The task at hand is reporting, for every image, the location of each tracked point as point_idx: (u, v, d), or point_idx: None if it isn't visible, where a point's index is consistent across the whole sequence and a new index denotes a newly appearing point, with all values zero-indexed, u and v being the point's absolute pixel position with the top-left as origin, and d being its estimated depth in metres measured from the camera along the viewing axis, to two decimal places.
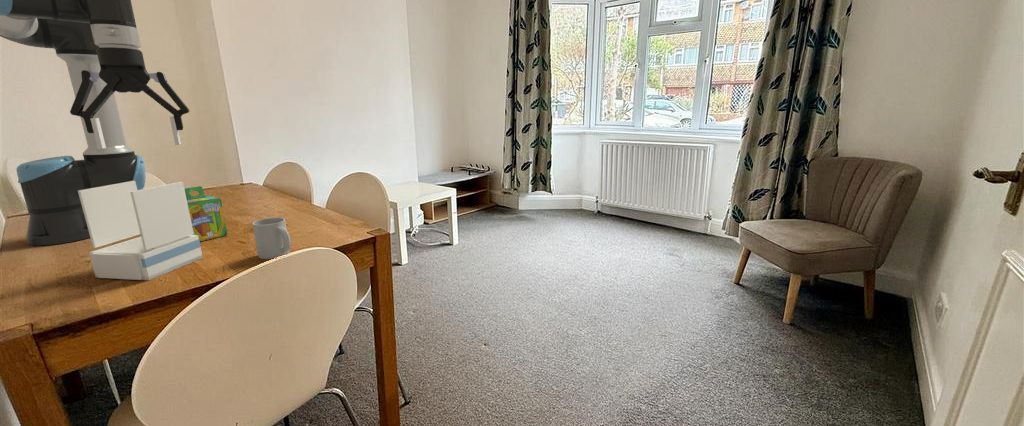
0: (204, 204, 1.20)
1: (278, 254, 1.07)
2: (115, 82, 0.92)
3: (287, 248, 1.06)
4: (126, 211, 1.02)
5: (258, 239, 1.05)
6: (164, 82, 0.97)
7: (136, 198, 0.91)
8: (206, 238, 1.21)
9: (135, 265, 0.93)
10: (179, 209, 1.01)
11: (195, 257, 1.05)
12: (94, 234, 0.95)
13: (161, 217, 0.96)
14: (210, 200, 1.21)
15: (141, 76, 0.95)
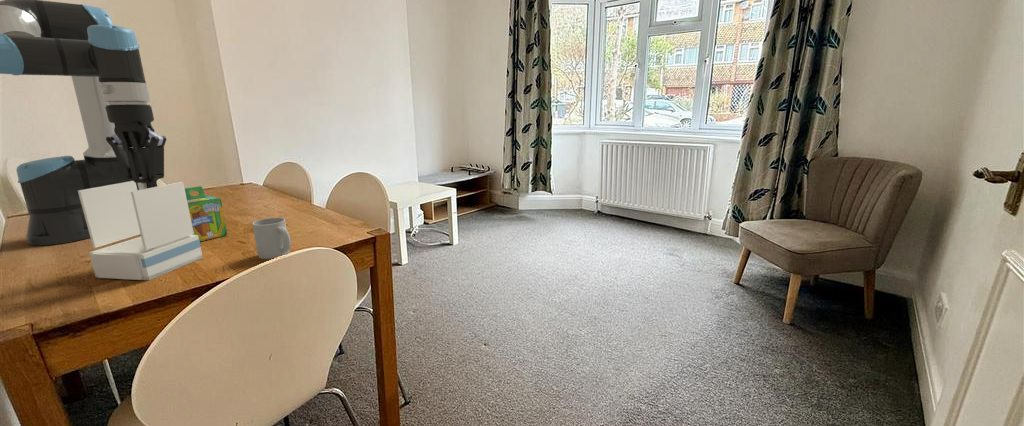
0: (204, 204, 1.20)
1: (278, 254, 1.07)
2: (123, 138, 0.92)
3: (287, 248, 1.06)
4: (126, 211, 1.02)
5: (258, 239, 1.05)
6: (152, 147, 0.92)
7: (136, 198, 0.91)
8: (206, 238, 1.21)
9: (135, 265, 0.93)
10: (179, 209, 1.01)
11: (195, 257, 1.05)
12: (94, 234, 0.95)
13: (161, 217, 0.96)
14: (210, 200, 1.21)
15: (140, 131, 0.92)
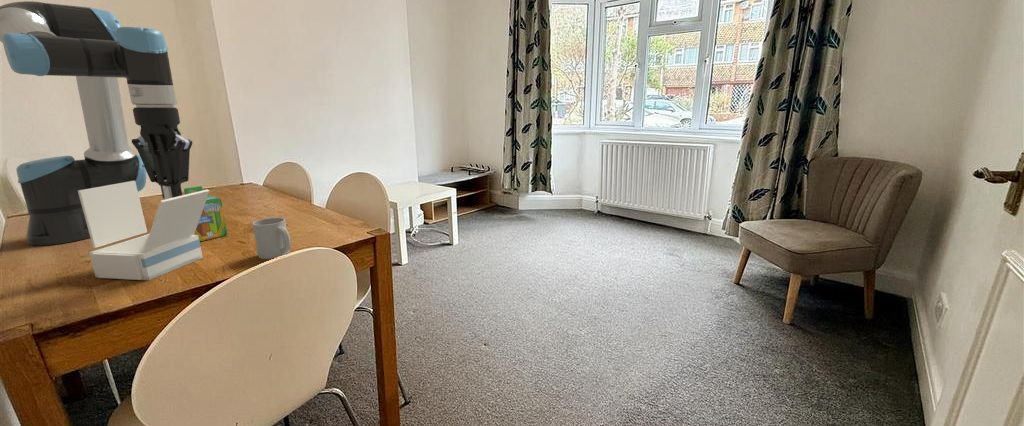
0: None
1: (278, 254, 1.07)
2: (149, 141, 0.91)
3: (287, 248, 1.06)
4: (126, 211, 1.02)
5: (258, 239, 1.05)
6: (178, 151, 0.91)
7: (162, 207, 0.90)
8: (206, 238, 1.21)
9: (135, 265, 0.93)
10: (193, 214, 1.01)
11: (195, 257, 1.05)
12: (94, 234, 0.95)
13: (174, 222, 0.96)
14: (210, 200, 1.21)
15: (167, 134, 0.91)
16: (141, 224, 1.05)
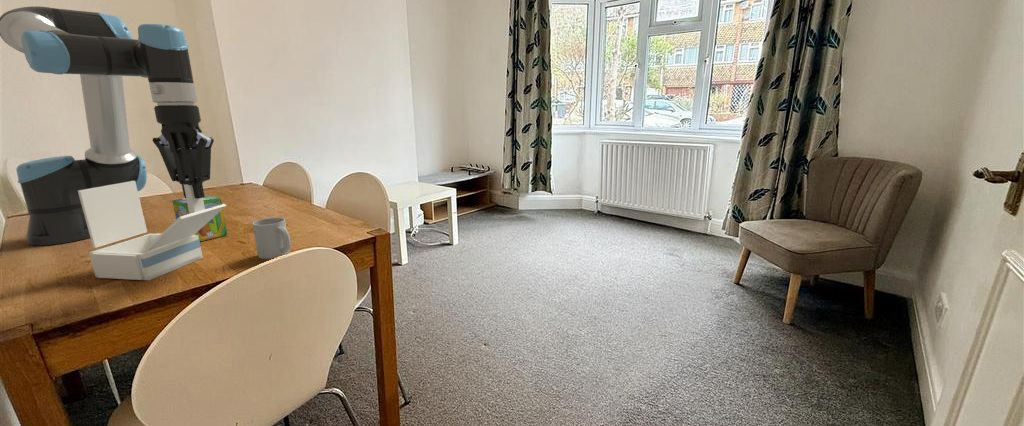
0: (204, 204, 1.20)
1: (278, 254, 1.07)
2: (171, 139, 0.90)
3: (287, 248, 1.06)
4: (126, 211, 1.02)
5: (258, 239, 1.05)
6: (200, 148, 0.90)
7: (179, 222, 0.91)
8: (206, 238, 1.21)
9: (135, 265, 0.93)
10: (202, 222, 1.01)
11: (195, 257, 1.05)
12: (94, 234, 0.95)
13: (182, 229, 0.96)
14: (210, 200, 1.21)
15: (188, 132, 0.90)
16: (141, 224, 1.05)
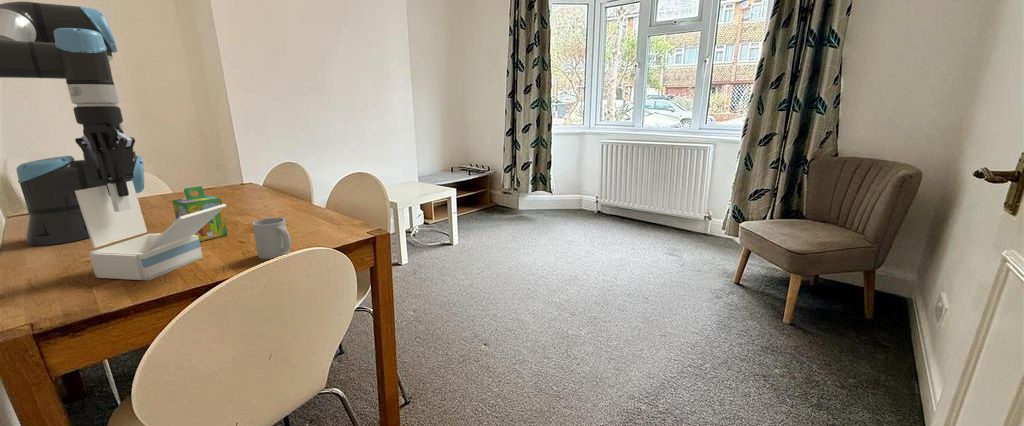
0: (204, 204, 1.20)
1: (278, 254, 1.07)
2: (92, 139, 0.93)
3: (287, 248, 1.06)
4: (125, 211, 1.02)
5: (258, 239, 1.05)
6: (121, 148, 0.93)
7: (179, 222, 0.91)
8: (206, 238, 1.21)
9: (135, 265, 0.93)
10: (202, 222, 1.01)
11: (195, 257, 1.05)
12: (94, 234, 0.95)
13: (182, 229, 0.96)
14: (210, 200, 1.21)
15: (109, 132, 0.93)
16: (140, 224, 1.05)
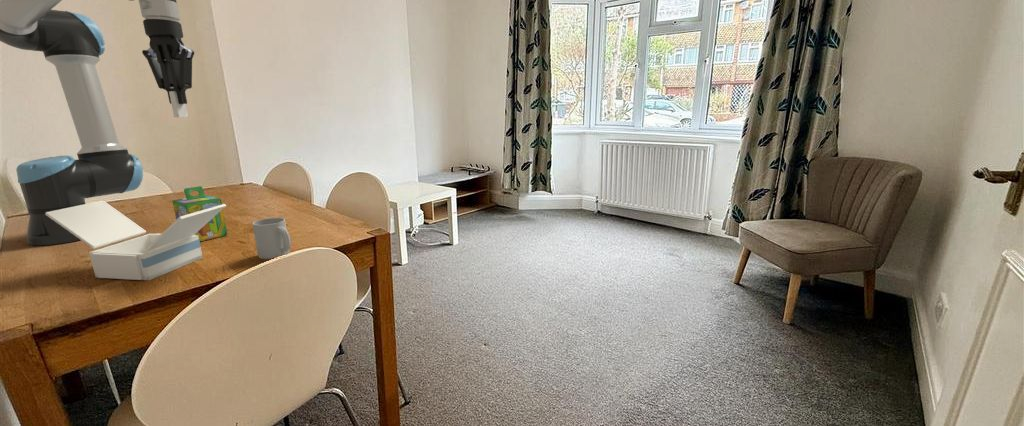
0: (204, 204, 1.20)
1: (278, 254, 1.07)
2: (157, 50, 1.06)
3: (287, 248, 1.06)
4: (110, 220, 1.03)
5: (258, 239, 1.05)
6: (182, 58, 1.07)
7: (179, 222, 0.91)
8: (206, 238, 1.21)
9: (135, 265, 0.93)
10: (202, 222, 1.01)
11: (195, 257, 1.05)
12: (86, 238, 0.96)
13: (182, 229, 0.96)
14: (210, 200, 1.21)
15: (172, 44, 1.06)
16: (135, 227, 1.06)
